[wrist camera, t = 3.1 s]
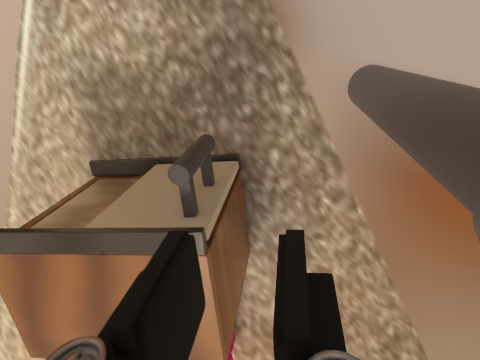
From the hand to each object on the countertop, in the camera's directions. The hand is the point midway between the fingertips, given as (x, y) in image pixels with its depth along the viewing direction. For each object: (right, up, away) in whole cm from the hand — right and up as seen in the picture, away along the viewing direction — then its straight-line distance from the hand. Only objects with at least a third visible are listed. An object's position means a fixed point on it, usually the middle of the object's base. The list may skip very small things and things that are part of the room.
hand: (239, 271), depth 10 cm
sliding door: (-4, +6, +20) cm, 22 cm away
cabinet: (-7, -1, +25) cm, 26 cm away
